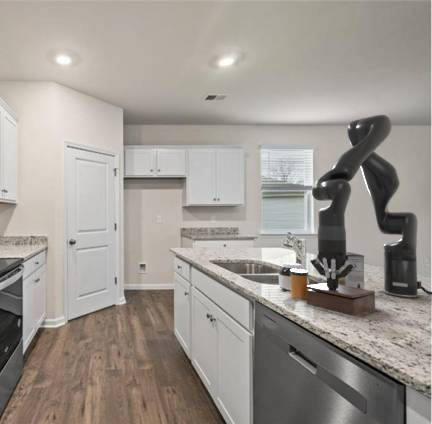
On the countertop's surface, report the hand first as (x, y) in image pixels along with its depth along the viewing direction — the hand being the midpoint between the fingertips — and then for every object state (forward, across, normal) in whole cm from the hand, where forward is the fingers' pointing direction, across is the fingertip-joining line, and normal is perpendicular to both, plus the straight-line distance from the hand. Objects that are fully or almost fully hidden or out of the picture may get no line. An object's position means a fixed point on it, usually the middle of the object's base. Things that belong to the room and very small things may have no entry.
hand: (332, 289), depth 94 cm
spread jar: (+7, +21, -15) cm, 27 cm away
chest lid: (+1, 0, -4) cm, 4 cm away
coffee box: (+7, +9, -33) cm, 35 cm away
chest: (+7, 0, -5) cm, 9 cm away
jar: (+7, +13, -4) cm, 15 cm away
